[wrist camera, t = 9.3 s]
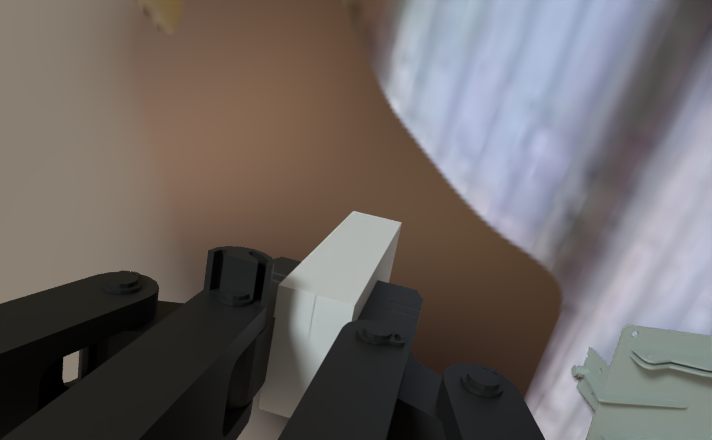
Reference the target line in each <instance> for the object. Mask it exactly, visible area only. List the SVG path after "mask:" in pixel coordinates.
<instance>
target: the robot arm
mask: <svg viewBox="0 0 712 440" xmlns="http://www.w3.org/2000/svg"><path fill="white" fill-rule="evenodd" d="M400 228H401V222H397V221H392V220H389V219H385V218H380V217H376V216H372V215H368V214H363V213H360V212H355V211H353V212H352V213H351V214H350V215H349V216H348V217H347V218H346V219H345V220H344V221H343V222H342V223H341V224H340V225H339V226H338V227H337V228H336V229H335V230H334V231H333V232H332V233H331V234H330V235H329V236H328V237H327V238H326V239H325V240H324V241H323V242H322V243H321V244H320V245H319V246H318V247H317V248H316V249H315V250H314V251H313V252H311V254H310V255H308V256H307V257H306V258H305V259H304V260H303V261H302V262H300V261H296V260H292V259H288V258H284V257H280V258H276V259H272V257H270V256H268V255H267V254H265V253H263V252H260V251H257V250H254V249H250V248H244V247H232V246H226V247H217V248H214V249H211V250H208V259H207V266H206V275H205V283H204V290H202V291H201V292H200V293H198V294H197V295H195V296H194V297H193V298H191V299H190V300H189V301H187V302H186V303H175V302H166V301H158V292H159V286H158V284H157V282H156V281H155V280H153V279H151V278H150V277H147V276H144V275H141V274H139V273H137V272H130V271H119V272H109V273H104V274H99V275H95V276H92V277H88V278H85V279H81V280H78V281H75V282H71V283H68V284H65V285H62V286H58V287H55V288H51V289H48V290H45V291H41V292H38V293H35V294H31V295H28V296H25V297H21V298H18V299H15V300H11V301H8V302H5V303H2V304H0V440H236V439H237V438H238V436H239V435H240V434H241V432H242V431H243V429H244V428H245V426H246V425H247V423H248V421H249V418H250V415H251V410H252V403H253V398H254V396H255V395H256V393H257V392H258V391H259V389H260V388H261V387H262V390H261V397H260V403H259V409H262V410H266V411H269V412H272V413H275V414H279V415H282V416H285V417H288V418H290V419H289V421H288V423H287V425H286V426H285V428H284V430H283V431H282V433H281V435H280V437H279V438H278V440H545V438H544V437H543V435H542V433H541V431H540V429H539V427H538V425H537V423H536V421H535V420H534V418H533V416H532V414H531V412H530V410H529V408H528V406H527V405H526V403H525V401H524V399H523V397H522V395H521V393H520V392H519V390H518V389H517V388H516V386H515V385H514V384H513V383H512V382H511V381H510V380H508V379H507V378H505V377H504V376H503V375H501V374H500V373H499V372H497V371H495V370H491V369H490V368H488V367H485V366H477V365H474V364H456V365H452V366H449V367H448V368H447V369H446V370H445V371H444V373H443V376H441V375H439V374H437V373H435V372H433V371H431V370H429V369H428V368H426V367H425V366H423V365H422V364H421V363H420V362H419V361H418V360H417V359H416V358H415V357H414V355H413V353H412V351H411V347H412V343H413V339H414V335H415V331H416V327H417V323H418V318H419V314H420V310H421V305H422V302H423V299H422V298H421V297H420V295H419V293H418V292H417V290H414V289H410V288H406V287H402V286H398V285H395V284H391V283H388V282H389V278H390V273H391V269H392V264H393V260H394V255H395V250H396V246H397V241H398V237H399V232H400ZM76 351H79V367H78V378H77V379H75V380H72V381H70V382H66V383H63V380H62V371H63V357H64V356H67V355H69V354H71V353H74V352H76Z"/></svg>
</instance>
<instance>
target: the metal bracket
mask: <svg viewBox="0 0 712 440" xmlns="http://www.w3.org/2000/svg"><path fill="white" fill-rule="evenodd" d="M633 331H637V335H635V336H631V335H632V332H633ZM587 354H588V358H586V359H585V362H584V365H583V366H578V367H576V365H574V366H573V367H572V375H573V376H576V375H577V376H578V377H580V378H581V380H580V381H578V384H577V389H578V390H579V391H580V392H581V394H582V395H583V396H584V397H585V399H586V400H587V401H588V402H589V404H590V405H591V406H592V408H593V409H594V410H595V413H594V416H593V419H592V422H591V425H590V428H589V431H588V434H587V437H586V440H712V336H710V335H702V334H695V333H687V332H680V331H672V330H665V329H657V328H650V327H642V326H635V325H626V326H624V328H623V329H622V332H621V335H620V338H619V341H618V344H617V347H616V350H615V353H614V356H613V359H612V362H611V365H610V366H609V365H608V364H607V363H606V362H605V361H604V360H603V359H602V358H601V357H600V356H599V355H598V354H597V353H596V352H595V351H594V350H593V348H591V347H589V350H588V353H587ZM601 370H602V372H601Z"/></svg>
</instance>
